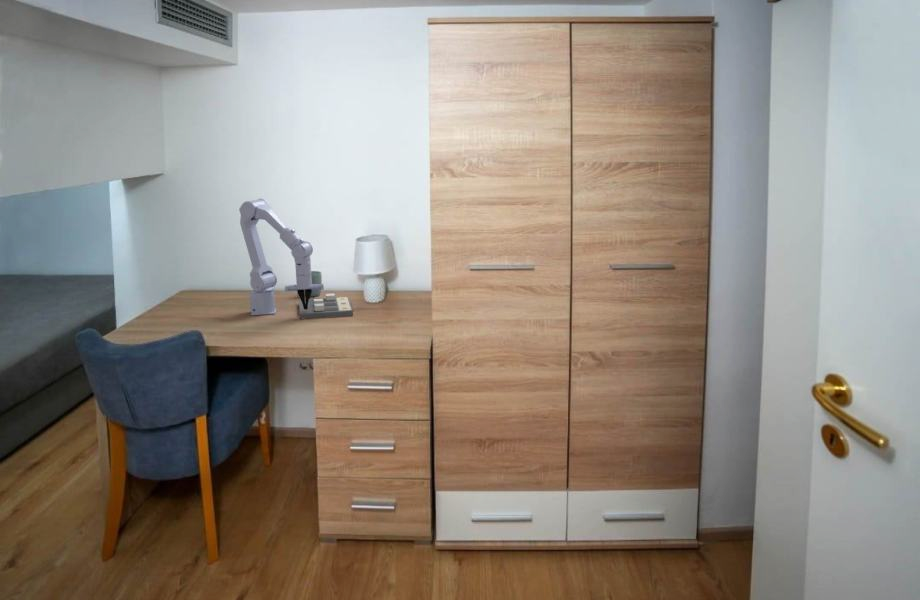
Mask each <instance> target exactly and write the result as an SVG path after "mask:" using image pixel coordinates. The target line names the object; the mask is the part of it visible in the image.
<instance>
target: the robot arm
mask: <svg viewBox="0 0 920 600" xmlns="http://www.w3.org/2000/svg"><path fill="white" fill-rule="evenodd" d="M239 214H240V221H239V223H240V227H241V231H242V235H243V238H244V241H245V245H246V249H247V252H248V255H249V259H250V260H249V261H250V263H251V267H252V269H251V271H250V272H249V276H250V282H249V284H250V287H251V288H252V290H250V291H249V301H250V305H249V311H250V315H251V316H259V315H260V316H261V315H275V314H277V307H276V303H275V302H276V301H275V286H276V284H277V283H278V278H277V275H276V274H275V272H274V271H273V268H272V267H271V266H270V265H269V264H267V260H266V255H265V253H264V249H263V246H262V243H261V240H260V239H261V238H260V236H259V232H258V231H259V230H258V227H257V224H258V222H259V221H260V220H262V221H265V222H267V223H268V225H270V226H271V228H273V229H274V230H275V231H276V232H277V233H279V239H280V240H281V241H282V242H283V243H284V244H285V245H286V246H287V247H288V248H289V250H290V251H291V252H290V254H291V256H292V257H293V260H294V263H295V264H294V265H295V282H296V284H292V285H291V284H290V285H285V286H284V292H286V293H288V292H297V295H298V297H299V300H300V299H301V301H302V304H303V307H304V309H308V301H309V299H311V297H310V295H311V293H312V290H321V291H324V290H325V287H324V285H325V284H324V283H322V284H312V279H311V271H312V267H311V266H312V265H311V256H312V254H313V252H314V251H313V246H312V244H311V243H310V242H309V241H308V240H307V241H304V239H303V238H302V237H300V236H299V234H297V233H296V230H295V229H294V228H291V227H287V226H286V225H285V224H284V222H282V220H280V218H279V217H278V216H277V215H276V213H275V212H274V211H273V210H272V206H271V205H270V204H269V203H268V202H267V201H266V200H265V199H263V198H258V199H255V200H247V201H244V202H243V203H242V204H241V205H240V207H239ZM304 290H305V292H304ZM305 300H306V304H305Z"/></svg>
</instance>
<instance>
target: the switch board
mask: <svg viewBox="0 0 920 600" xmlns="http://www.w3.org/2000/svg"><path fill="white" fill-rule="evenodd" d="M314 299H315V298H309V301H308V309H304V307H303V304H302V301H301V299H300V298H299V299H298V303H299V304H298V306H299V307H298V308H299V309H298V310H299V319H300V320H302V319H301V318H310V319H322V318H323V319H324V318H337V317H338V318H339V317H341V318H342V317H353V316H354V311H353V307H352V305H351V300H350V298H349V296H338V297H337V296H335V300H330V301H326V297H320V298H316V299H323V303H324V311H315V306H314ZM305 304H306V300H305Z"/></svg>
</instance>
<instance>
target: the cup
mask: <svg viewBox="0 0 920 600" xmlns="http://www.w3.org/2000/svg"><path fill="white" fill-rule="evenodd" d="M322 276H323V275H322V271H319V270H311V279H312V284H323V282H322V280H323V279H322ZM304 292H305V290H304ZM321 293H322V290H312V293H311V295H310V298H311V297H312V298H314V297H318V296H320V294H321Z"/></svg>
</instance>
